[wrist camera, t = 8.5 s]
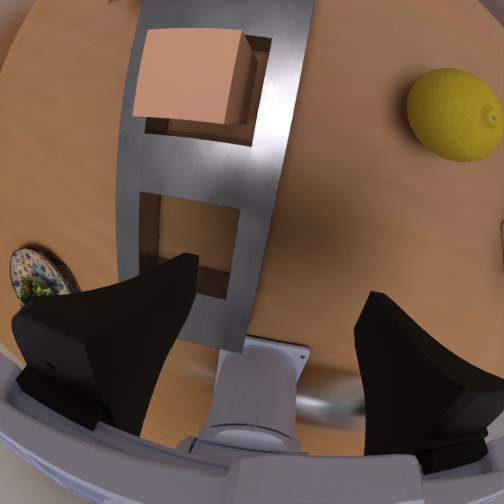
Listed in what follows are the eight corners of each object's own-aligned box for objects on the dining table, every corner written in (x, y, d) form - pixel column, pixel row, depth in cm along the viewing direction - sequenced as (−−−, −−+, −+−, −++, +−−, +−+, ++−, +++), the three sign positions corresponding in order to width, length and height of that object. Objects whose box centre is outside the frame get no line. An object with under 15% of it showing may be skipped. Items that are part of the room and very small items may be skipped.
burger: (73, 246, 24) (22, 285, 17) (98, 338, 29) (66, 383, 22) (8, 237, 24) (-34, 265, 18) (33, 316, 30) (2, 349, 23)
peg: (246, 124, 17) (223, 124, 11) (183, 116, 18) (132, 116, 11) (257, 62, 15) (241, 30, 9) (193, 56, 16) (147, 29, 9)
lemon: (374, 109, 16) (428, 104, 9) (419, 61, 14) (484, 40, 6) (425, 167, 17) (491, 198, 10) (466, 120, 15) (538, 131, 8)
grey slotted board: (247, 325, 24) (241, 353, 21) (140, 299, 25) (123, 322, 21) (313, 0, 13) (318, -21, 10) (172, -9, 13) (152, -26, 10)
